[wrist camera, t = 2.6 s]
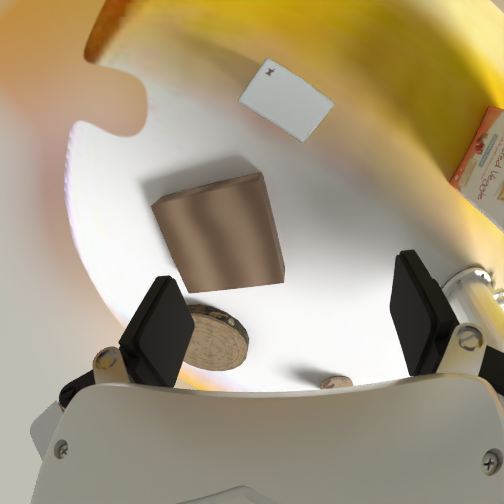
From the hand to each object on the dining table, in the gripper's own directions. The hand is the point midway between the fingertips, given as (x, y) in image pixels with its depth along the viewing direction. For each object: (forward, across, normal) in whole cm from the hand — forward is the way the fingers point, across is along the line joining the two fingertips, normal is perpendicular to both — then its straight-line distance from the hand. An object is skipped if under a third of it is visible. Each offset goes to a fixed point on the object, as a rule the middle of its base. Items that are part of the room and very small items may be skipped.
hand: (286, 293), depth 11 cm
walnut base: (+24, +10, +8) cm, 28 cm away
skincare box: (+24, -1, -7) cm, 25 cm away
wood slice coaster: (+24, +19, +29) cm, 42 cm away
